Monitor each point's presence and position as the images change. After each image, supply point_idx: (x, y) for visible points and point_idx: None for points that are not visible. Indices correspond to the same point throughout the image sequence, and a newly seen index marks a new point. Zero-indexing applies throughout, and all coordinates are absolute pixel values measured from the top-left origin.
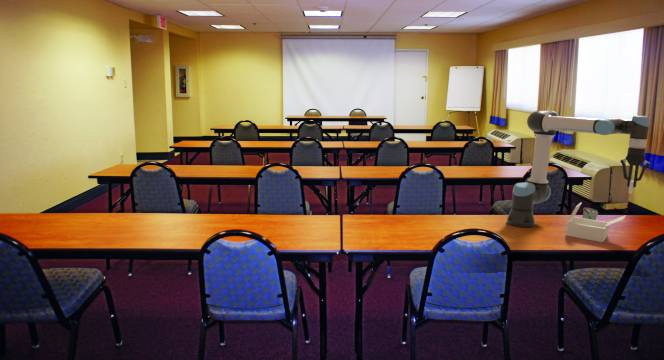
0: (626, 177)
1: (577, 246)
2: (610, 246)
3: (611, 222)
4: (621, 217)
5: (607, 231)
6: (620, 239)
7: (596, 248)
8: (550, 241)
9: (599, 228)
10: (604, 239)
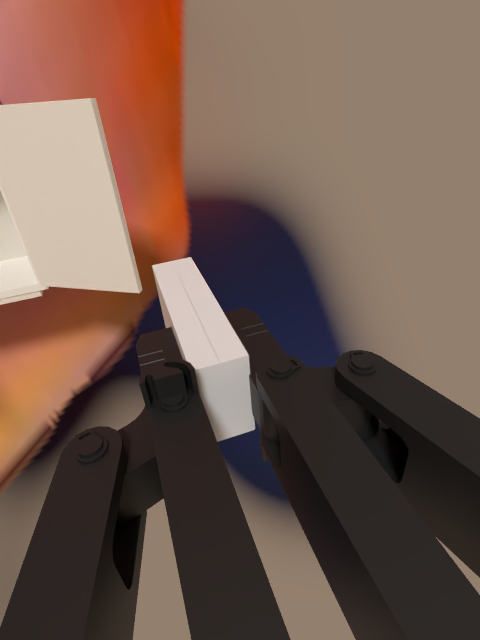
0: (144, 517)
1: (17, 394)
2: None
3: (42, 217)
4: (81, 157)
5: None
6: None
7: (83, 356)
8: None
9: (21, 299)
10: None
